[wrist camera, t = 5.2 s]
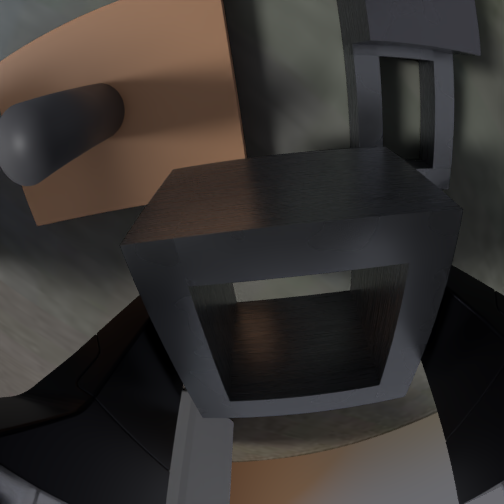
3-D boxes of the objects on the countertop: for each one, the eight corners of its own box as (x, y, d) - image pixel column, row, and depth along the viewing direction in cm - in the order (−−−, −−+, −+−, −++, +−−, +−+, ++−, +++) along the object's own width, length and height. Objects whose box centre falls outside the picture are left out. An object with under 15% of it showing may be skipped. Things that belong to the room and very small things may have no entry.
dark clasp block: (423, -34, 7) (463, -50, 4) (435, 178, 12) (471, 208, 9) (327, -47, 7) (348, -76, 4) (351, 182, 12) (374, 216, 10)
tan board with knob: (219, -18, 8) (190, -79, 3) (250, 180, 12) (246, 261, 8) (6, 64, 9) (-85, 88, 4) (47, 216, 13) (-18, 285, 8)
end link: (386, 147, 8) (463, 209, 5) (373, 307, 11) (404, 396, 8) (172, 169, 8) (119, 244, 5) (215, 324, 12) (203, 418, 8)
